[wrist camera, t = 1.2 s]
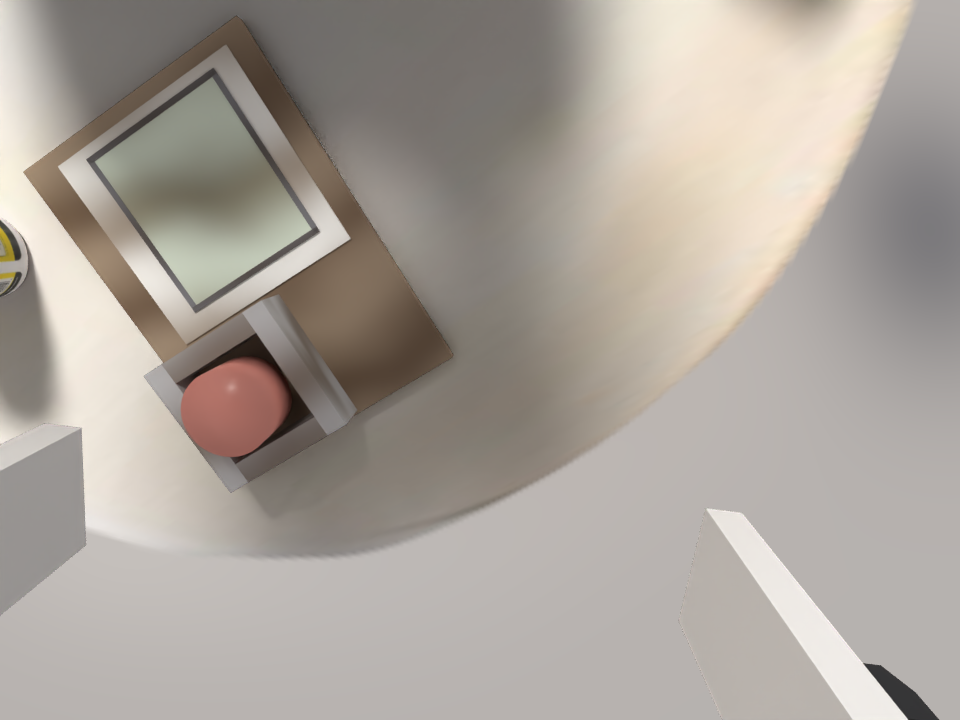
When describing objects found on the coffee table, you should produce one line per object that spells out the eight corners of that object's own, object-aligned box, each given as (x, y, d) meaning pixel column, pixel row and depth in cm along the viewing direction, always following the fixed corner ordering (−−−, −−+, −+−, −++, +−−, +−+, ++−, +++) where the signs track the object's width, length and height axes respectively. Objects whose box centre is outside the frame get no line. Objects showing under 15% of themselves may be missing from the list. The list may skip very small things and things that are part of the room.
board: (33, 172, 32) (-17, 167, 29) (242, 20, 30) (212, -3, 27) (253, 473, 36) (229, 497, 33) (453, 354, 34) (448, 368, 31)
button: (193, 382, 32) (162, 399, 29) (259, 340, 31) (235, 353, 28) (242, 449, 33) (216, 472, 30) (308, 410, 32) (289, 429, 29)
